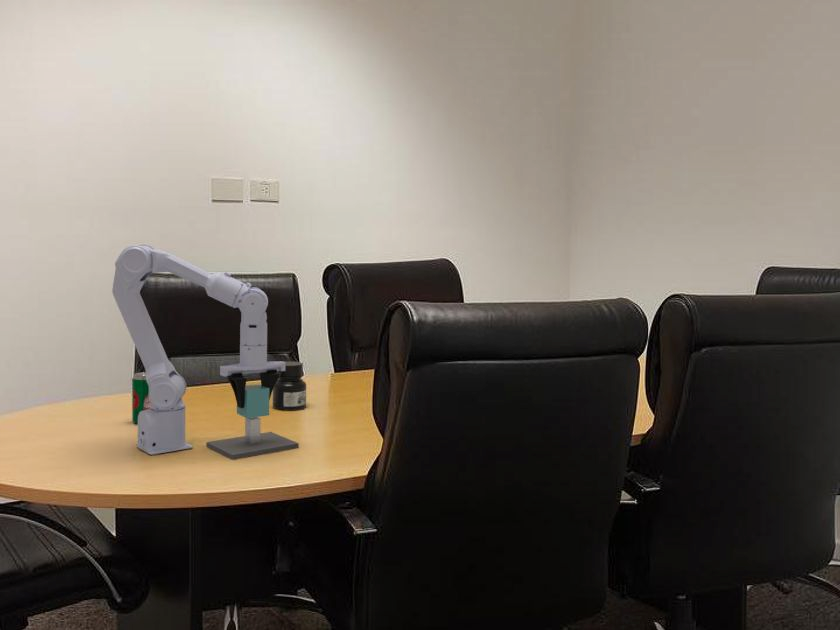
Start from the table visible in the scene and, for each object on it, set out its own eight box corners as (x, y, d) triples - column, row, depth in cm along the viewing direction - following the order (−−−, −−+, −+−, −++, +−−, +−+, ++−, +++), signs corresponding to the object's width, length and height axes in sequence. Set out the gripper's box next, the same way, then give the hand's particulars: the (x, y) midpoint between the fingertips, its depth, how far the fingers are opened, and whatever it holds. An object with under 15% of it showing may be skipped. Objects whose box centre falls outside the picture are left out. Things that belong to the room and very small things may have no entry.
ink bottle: (289, 413, 205) (290, 367, 204) (264, 408, 209) (265, 363, 208) (313, 406, 213) (314, 363, 212) (288, 402, 218) (289, 359, 216)
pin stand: (232, 459, 162) (232, 429, 161) (206, 446, 171) (206, 417, 170) (298, 447, 173) (298, 418, 172) (270, 435, 182) (271, 408, 181)
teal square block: (246, 418, 167) (247, 390, 167) (236, 413, 172) (236, 386, 171) (269, 415, 171) (269, 388, 170) (258, 410, 175) (258, 384, 174)
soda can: (147, 425, 187) (147, 376, 186) (128, 424, 188) (127, 375, 187) (158, 420, 192) (158, 372, 191) (139, 419, 193) (139, 371, 192)
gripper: (275, 339, 177) (274, 398, 178) (214, 343, 168) (214, 405, 170) (290, 344, 171) (289, 404, 173) (227, 348, 163) (227, 412, 164)
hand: (253, 405), depth 171 cm, fingers closed on teal square block, 5 cm apart
